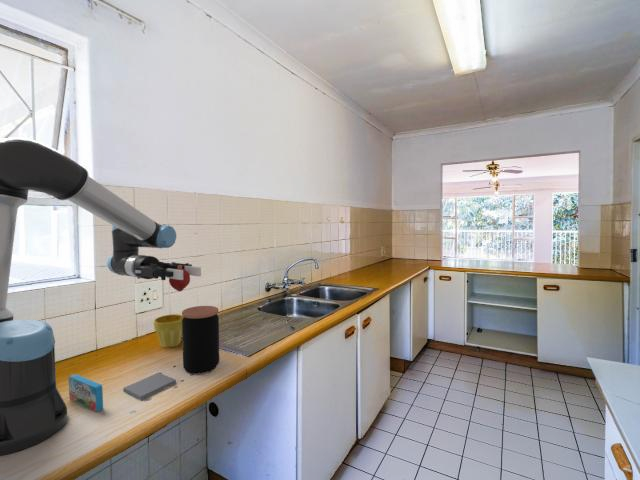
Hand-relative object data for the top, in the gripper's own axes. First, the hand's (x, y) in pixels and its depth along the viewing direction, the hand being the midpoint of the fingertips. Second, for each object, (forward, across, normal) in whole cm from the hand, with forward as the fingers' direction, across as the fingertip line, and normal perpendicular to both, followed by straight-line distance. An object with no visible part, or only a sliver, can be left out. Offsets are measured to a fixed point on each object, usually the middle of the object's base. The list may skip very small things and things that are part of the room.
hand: (191, 273), depth 95 cm
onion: (-5, 0, -6) cm, 8 cm away
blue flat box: (-9, +25, -30) cm, 40 cm away
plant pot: (-25, -10, -30) cm, 40 cm away
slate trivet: (-3, +12, -30) cm, 32 cm away
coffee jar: (-1, -4, -30) cm, 31 cm away
